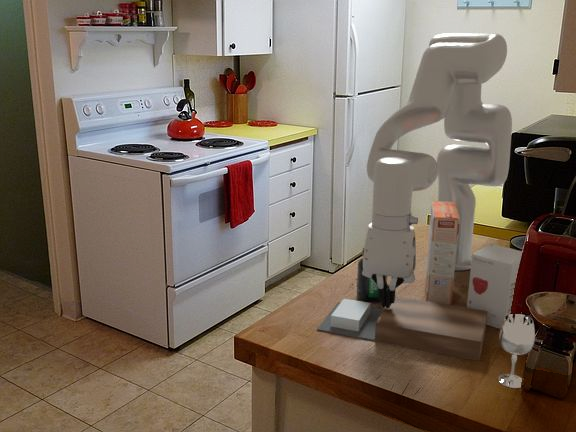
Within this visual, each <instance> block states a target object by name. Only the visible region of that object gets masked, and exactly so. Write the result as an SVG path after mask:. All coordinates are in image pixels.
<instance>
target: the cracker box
mask: <svg viewBox="0 0 576 432" xmlns="http://www.w3.org/2000/svg"><path fill="white" fill-rule="evenodd" d="M429 218H430V220H429V232H428V234H429V235H428V242H427V243H428V244H427V255H426V268H425V270H426V271H425V279H424V283H425V284H424V285H425V301H428V302H434V303H440V304H447V305H452V303H453V301H452V300H453V291H454V281H455V280H454V279H455V271H456V270H455V262H456V251H457V241H458V232H459V221H460V219H459V215H458V211H457V206H456V203H454V202H439V201H438V200H437V201H436V200H434V201H433V200H432V201H431V205H430V217H429Z"/></svg>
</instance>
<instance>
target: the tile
mask: <svg viewBox="0 0 576 432" xmlns="http://www.w3.org/2000/svg"><path fill="white" fill-rule="evenodd" d="M370 308H371V303H367V302H363V301H361V300H355V299H348V298H343V299H342V300H341V302H340V304H339V306H338V307H337V308H336V310H335V311H334V312H333V314H332V315H331V327H337V328H342V329H348V330H353V331H358V332H359V330H360V329H361V327H362V326H363V324H364V322H365V321H366V319H367V318H368V316H369V314H370Z"/></svg>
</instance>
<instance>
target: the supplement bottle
mask: <svg viewBox="0 0 576 432" xmlns="http://www.w3.org/2000/svg"><path fill="white" fill-rule="evenodd" d="M361 254H362V255H361V256H362V257H361V258H360V259H359V260H358V262H357V271H356V272H357V276H356V297H357V299H358V301H361V302H367V303H370V304H379V303H380V304H381V301H379V290H380V289H379V288H378V285H377V284H376V283H375V282H374V281H373V279H372V278H368V277H366V276H363V275H362V271H363V255H364V247H363V248H362V253H361ZM386 282H387V283H388V276H386Z"/></svg>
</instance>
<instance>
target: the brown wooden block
mask: <svg viewBox="0 0 576 432" xmlns="http://www.w3.org/2000/svg"><path fill="white" fill-rule="evenodd" d="M383 308H384V309H382V310H383V311H382V313H381V315H380V316H379V318H378V320H377V322H376V326H375V340H374V342H379V343H382V344H388V345H393V346H399V347H403V348H410V349H415V350H419V351H425V352H430V353H436V354H440V355H446V356H450V357H451V356H452V357H457V358H462V359H468V360H473V361H476V362H477V361H478V362H480V359H481V353H482V349H483V344H484V339H485V334H486V331H487V324H486V323H487V314H488V311H484V310H478V309H472V308H467V307H465V306H458V305H452V304H451V305H447V304H440V303H434V302H428V301H426V300H421V299H415V298H414V299H413V298H409V297H408V298H407V297H402V296H398V295H397V296H396V295H395V302H394V303H392V304H391V306H390V308H386V306H385V307H383Z"/></svg>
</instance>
